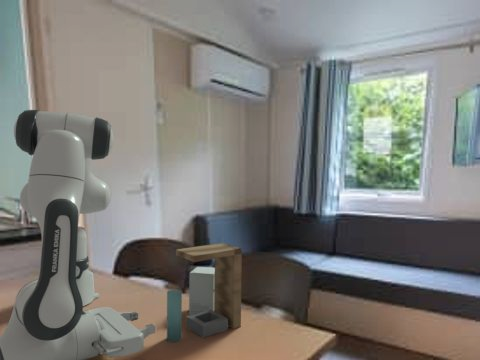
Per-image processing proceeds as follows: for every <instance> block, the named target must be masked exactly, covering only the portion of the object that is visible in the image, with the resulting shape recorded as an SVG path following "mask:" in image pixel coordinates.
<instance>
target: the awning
mask: <svg viewBox="0 0 480 360" xmlns="http://www.w3.org/2000/svg"><path fill="white" fill-rule="evenodd" d="M242 249H243V248H241V247H239V246H234V245H231V244H227V243H225V242H217V243H211V244H205V245H198V246H192V247H184V248H177V249H176V251H175V255H176V256H177V257H180V258H182V259H184V260H188V261H191V262H193V263H196V262H203V261H207V260H208V261H209V260H213V259H214V268H215V296H214V311H215V312H217V313H218V314H220V315H222V316H224V317H226V318H228V328H229V327H230V328H231V329H233V330H234V329H237V328H241V326H242V262H243V261H242V257H243V256H242V253H243V252H242Z"/></svg>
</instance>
